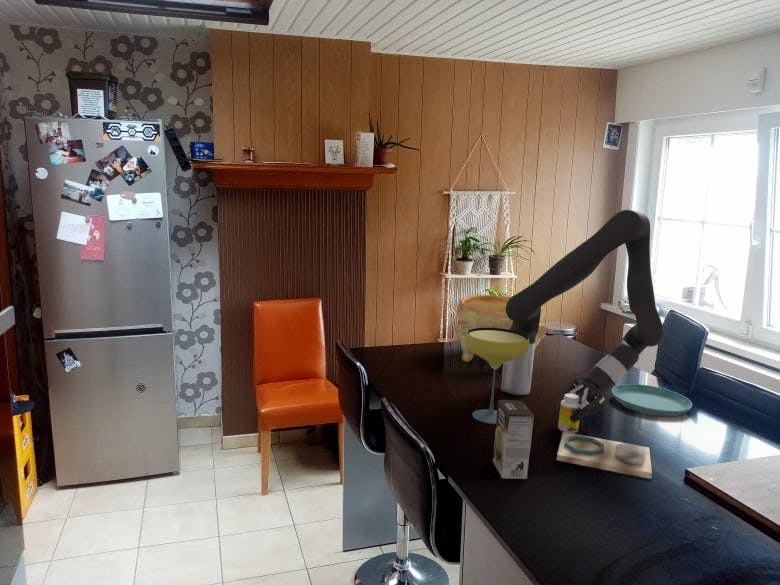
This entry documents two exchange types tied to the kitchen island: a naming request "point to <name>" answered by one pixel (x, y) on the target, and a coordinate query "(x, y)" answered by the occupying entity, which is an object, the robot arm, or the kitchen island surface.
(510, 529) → the kitchen island surface
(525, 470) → the coffee box
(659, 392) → the saucer
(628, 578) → the kitchen island surface
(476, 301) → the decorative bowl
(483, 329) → the cocktail glass
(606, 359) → the robot arm
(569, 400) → the supplement bottle
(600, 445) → the carrier board
